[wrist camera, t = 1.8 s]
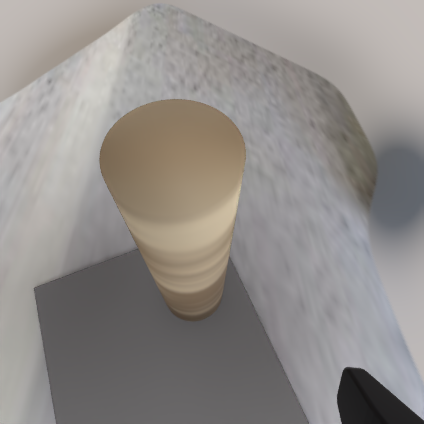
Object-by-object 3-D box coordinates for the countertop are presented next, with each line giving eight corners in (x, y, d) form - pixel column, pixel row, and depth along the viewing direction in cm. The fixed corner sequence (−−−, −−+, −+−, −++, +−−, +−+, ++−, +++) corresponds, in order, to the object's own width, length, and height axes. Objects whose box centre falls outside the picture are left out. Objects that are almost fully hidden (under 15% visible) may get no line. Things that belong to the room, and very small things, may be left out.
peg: (231, 307, 19) (271, 183, 8) (176, 331, 19) (122, 237, 7) (208, 255, 21) (212, 85, 9) (156, 276, 20) (84, 121, 8)
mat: (319, 449, 16) (321, 451, 16) (86, 581, 14) (83, 587, 14) (212, 223, 22) (212, 221, 22) (36, 289, 20) (33, 288, 20)
